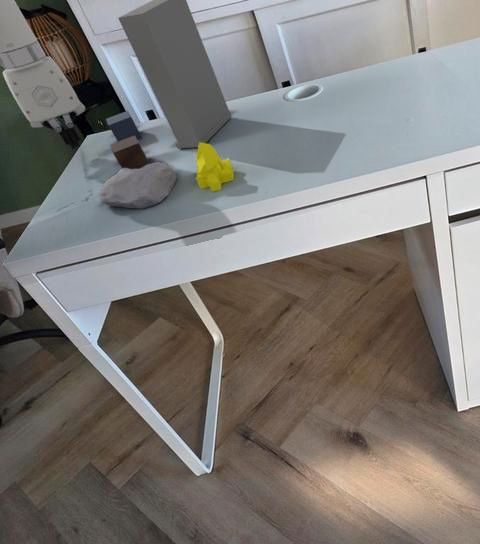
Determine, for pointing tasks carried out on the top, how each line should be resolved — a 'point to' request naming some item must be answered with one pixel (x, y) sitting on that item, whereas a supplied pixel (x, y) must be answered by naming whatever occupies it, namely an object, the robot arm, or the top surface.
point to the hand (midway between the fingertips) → (75, 145)
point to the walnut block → (129, 153)
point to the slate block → (123, 126)
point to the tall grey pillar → (177, 69)
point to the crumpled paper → (212, 168)
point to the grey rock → (139, 186)
